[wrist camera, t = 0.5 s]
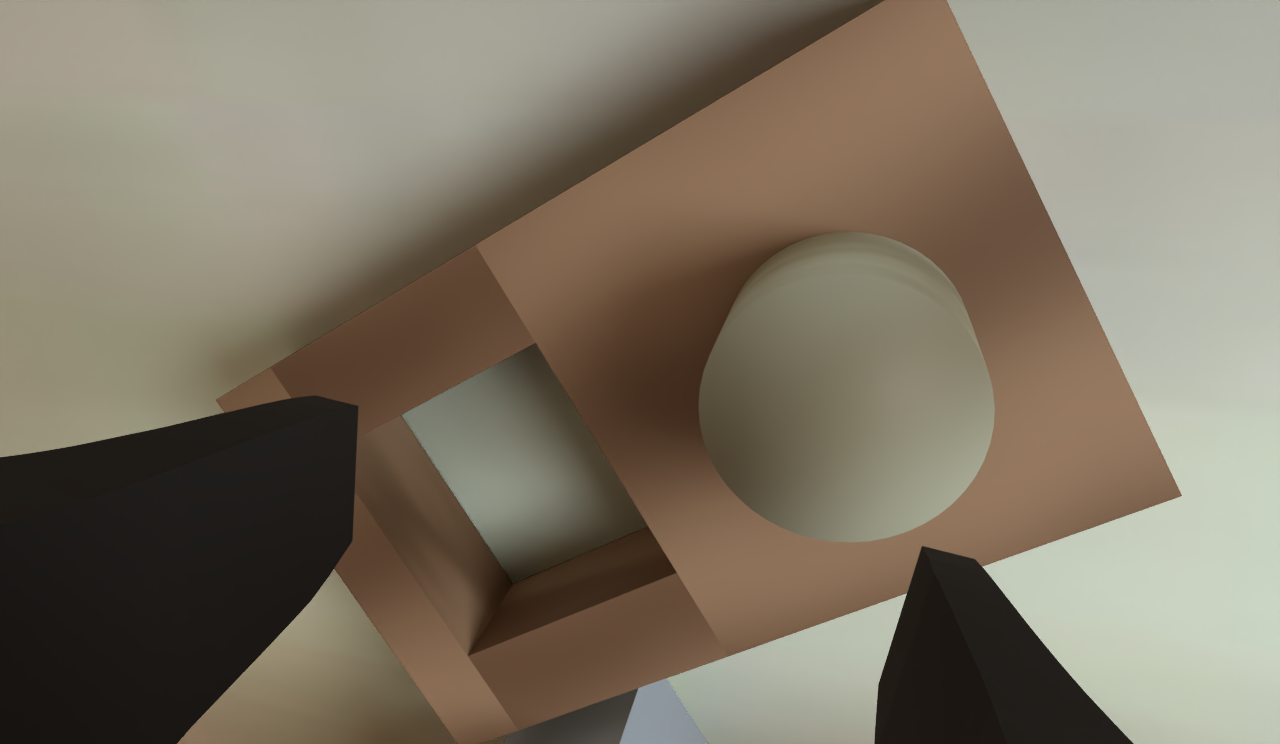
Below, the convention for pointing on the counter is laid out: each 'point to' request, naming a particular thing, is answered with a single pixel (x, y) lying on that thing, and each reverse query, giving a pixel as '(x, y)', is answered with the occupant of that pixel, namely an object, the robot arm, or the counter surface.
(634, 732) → the peg
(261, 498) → the robot arm
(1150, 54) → the counter surface
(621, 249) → the base
